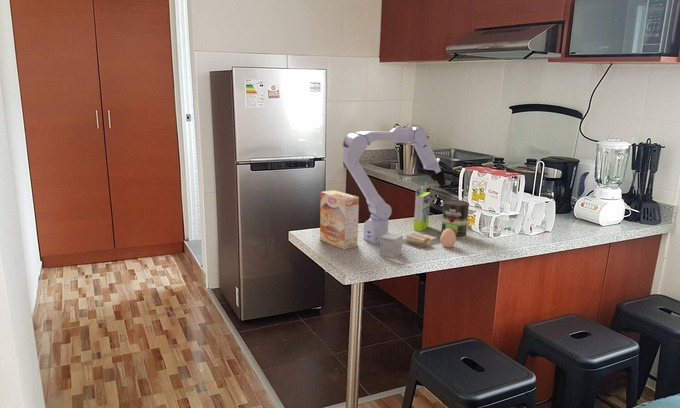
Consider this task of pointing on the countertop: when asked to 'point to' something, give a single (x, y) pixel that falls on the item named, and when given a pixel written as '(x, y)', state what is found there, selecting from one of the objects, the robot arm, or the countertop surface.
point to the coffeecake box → (339, 219)
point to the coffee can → (455, 217)
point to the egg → (448, 238)
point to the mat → (433, 239)
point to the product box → (390, 245)
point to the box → (421, 210)
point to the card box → (418, 240)
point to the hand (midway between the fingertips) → (439, 182)
